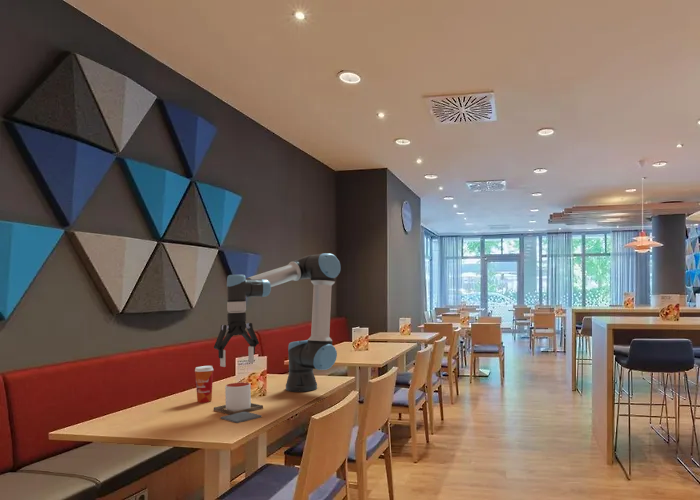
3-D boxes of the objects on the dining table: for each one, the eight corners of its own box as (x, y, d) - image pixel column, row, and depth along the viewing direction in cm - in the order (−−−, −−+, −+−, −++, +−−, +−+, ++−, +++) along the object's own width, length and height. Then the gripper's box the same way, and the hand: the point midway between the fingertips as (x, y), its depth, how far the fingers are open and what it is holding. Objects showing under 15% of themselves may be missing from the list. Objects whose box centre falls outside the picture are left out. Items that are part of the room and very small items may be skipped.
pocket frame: (242, 404, 224) (242, 401, 224) (262, 408, 214) (262, 405, 214) (213, 410, 213) (213, 407, 213) (233, 415, 204) (233, 412, 204)
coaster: (244, 412, 207) (244, 411, 207) (261, 417, 199) (261, 415, 199) (220, 418, 199) (220, 416, 199) (237, 423, 191) (237, 421, 191)
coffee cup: (190, 403, 229) (190, 368, 230) (202, 399, 237) (201, 365, 238) (207, 403, 226) (207, 368, 227) (218, 399, 234) (217, 365, 235)
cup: (245, 412, 208) (244, 387, 208) (221, 412, 210) (221, 386, 210) (254, 406, 217) (254, 382, 218) (232, 406, 219) (231, 382, 220)
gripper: (256, 310, 228) (256, 360, 226) (204, 313, 210) (205, 367, 208) (266, 310, 223) (267, 361, 221) (214, 313, 205) (215, 369, 203)
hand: (237, 364), depth 215 cm, fingers open, 13 cm apart
